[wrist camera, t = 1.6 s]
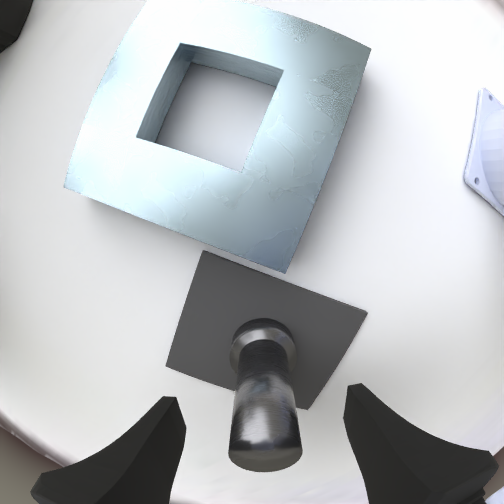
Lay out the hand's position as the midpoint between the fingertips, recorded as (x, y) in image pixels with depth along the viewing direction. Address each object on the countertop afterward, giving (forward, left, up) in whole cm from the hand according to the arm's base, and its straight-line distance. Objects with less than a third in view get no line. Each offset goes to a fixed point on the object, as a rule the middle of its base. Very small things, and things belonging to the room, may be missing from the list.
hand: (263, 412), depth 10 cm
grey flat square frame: (+7, -11, -6) cm, 14 cm away
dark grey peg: (0, 0, -6) cm, 6 cm away
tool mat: (0, 0, -6) cm, 6 cm away
